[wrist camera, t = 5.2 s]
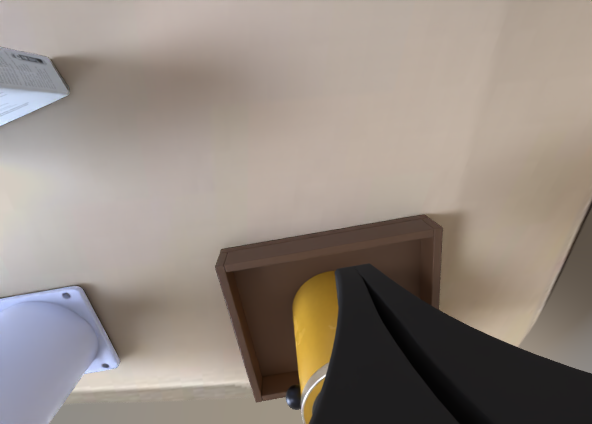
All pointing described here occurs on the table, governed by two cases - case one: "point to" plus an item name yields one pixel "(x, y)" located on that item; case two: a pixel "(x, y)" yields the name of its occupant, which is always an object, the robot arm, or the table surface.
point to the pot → (313, 339)
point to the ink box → (27, 83)
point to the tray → (303, 266)
